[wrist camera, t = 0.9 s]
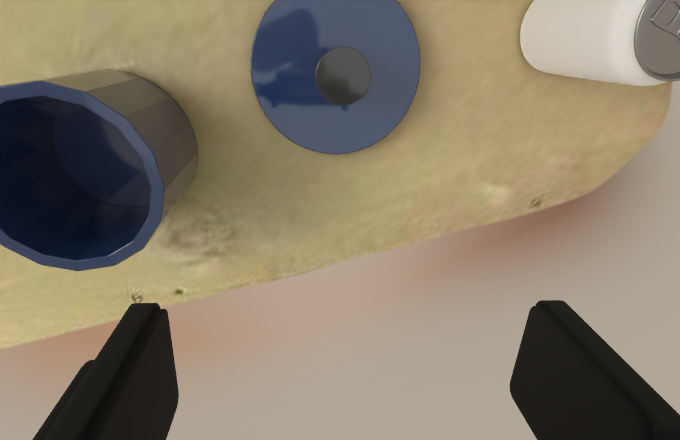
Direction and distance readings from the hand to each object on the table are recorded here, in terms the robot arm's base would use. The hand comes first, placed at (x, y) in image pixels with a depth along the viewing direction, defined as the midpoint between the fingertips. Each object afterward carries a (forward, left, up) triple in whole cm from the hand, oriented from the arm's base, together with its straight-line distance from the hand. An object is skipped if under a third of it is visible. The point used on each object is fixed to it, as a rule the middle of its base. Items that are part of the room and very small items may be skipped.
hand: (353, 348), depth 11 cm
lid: (-2, +5, -25) cm, 26 cm away
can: (+10, +18, -26) cm, 33 cm away
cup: (-12, -10, -26) cm, 30 cm away
